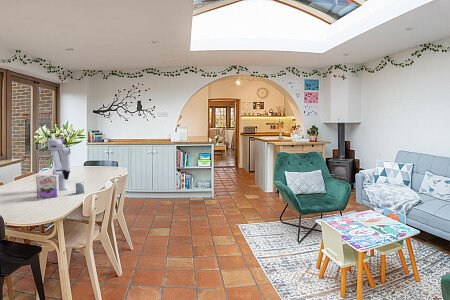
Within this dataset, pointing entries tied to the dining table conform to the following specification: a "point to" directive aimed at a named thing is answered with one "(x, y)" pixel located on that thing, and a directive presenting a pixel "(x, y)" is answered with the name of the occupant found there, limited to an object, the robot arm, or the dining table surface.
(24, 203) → the dining table surface
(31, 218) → the dining table surface
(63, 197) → the dining table surface
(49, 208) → the dining table surface
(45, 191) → the candy box
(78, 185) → the rounded blue cylinder
